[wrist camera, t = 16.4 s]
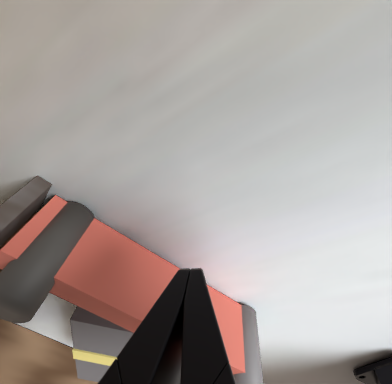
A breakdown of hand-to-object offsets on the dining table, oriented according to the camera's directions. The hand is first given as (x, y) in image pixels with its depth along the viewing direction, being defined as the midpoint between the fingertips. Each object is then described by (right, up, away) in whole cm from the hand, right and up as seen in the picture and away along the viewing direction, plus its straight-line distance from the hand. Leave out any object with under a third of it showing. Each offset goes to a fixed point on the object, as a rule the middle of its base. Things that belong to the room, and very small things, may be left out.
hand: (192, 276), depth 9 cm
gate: (-2, -2, +7) cm, 7 cm away
